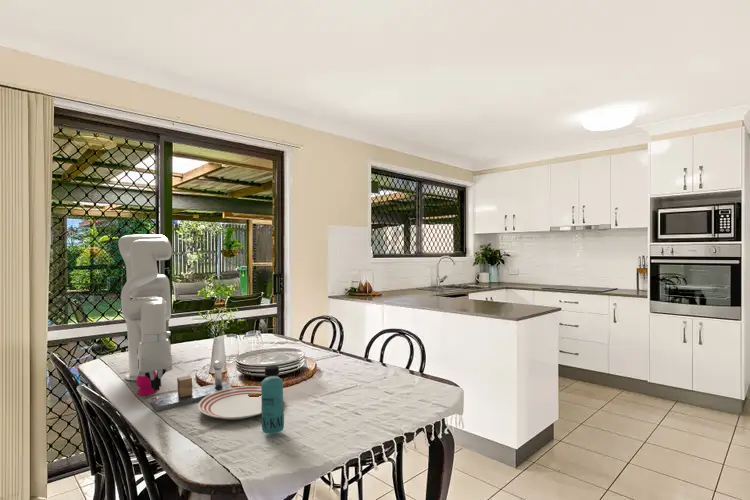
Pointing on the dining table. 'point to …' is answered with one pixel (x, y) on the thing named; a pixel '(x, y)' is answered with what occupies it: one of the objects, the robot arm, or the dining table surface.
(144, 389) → the pepper mill
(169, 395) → the plate
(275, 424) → the beverage bottle
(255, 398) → the dinner plate
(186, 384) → the block
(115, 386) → the dining table surface
